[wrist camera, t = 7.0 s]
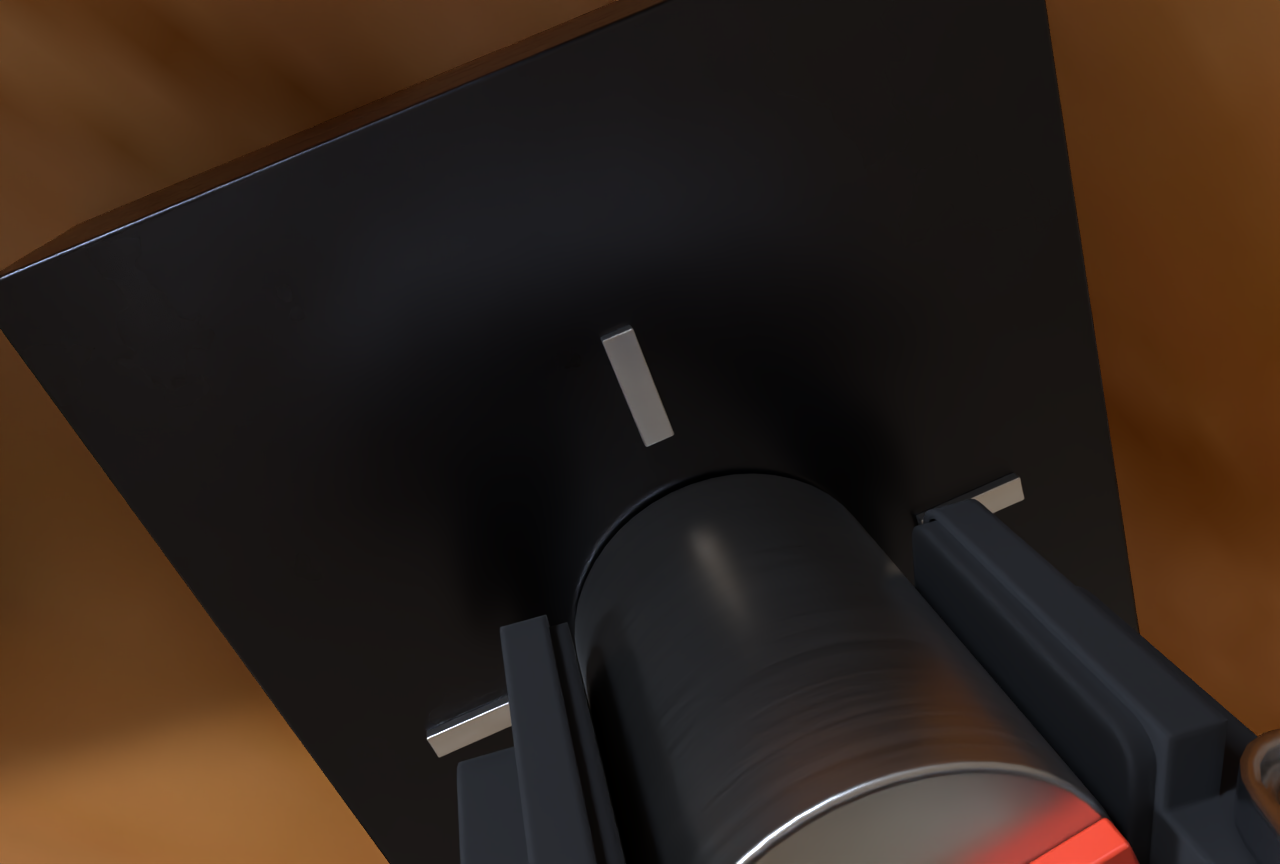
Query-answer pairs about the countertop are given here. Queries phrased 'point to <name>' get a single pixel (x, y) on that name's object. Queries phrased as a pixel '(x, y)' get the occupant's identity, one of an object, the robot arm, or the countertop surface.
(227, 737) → the countertop surface
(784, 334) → the hob console
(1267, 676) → the countertop surface
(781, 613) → the knob
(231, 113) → the countertop surface
